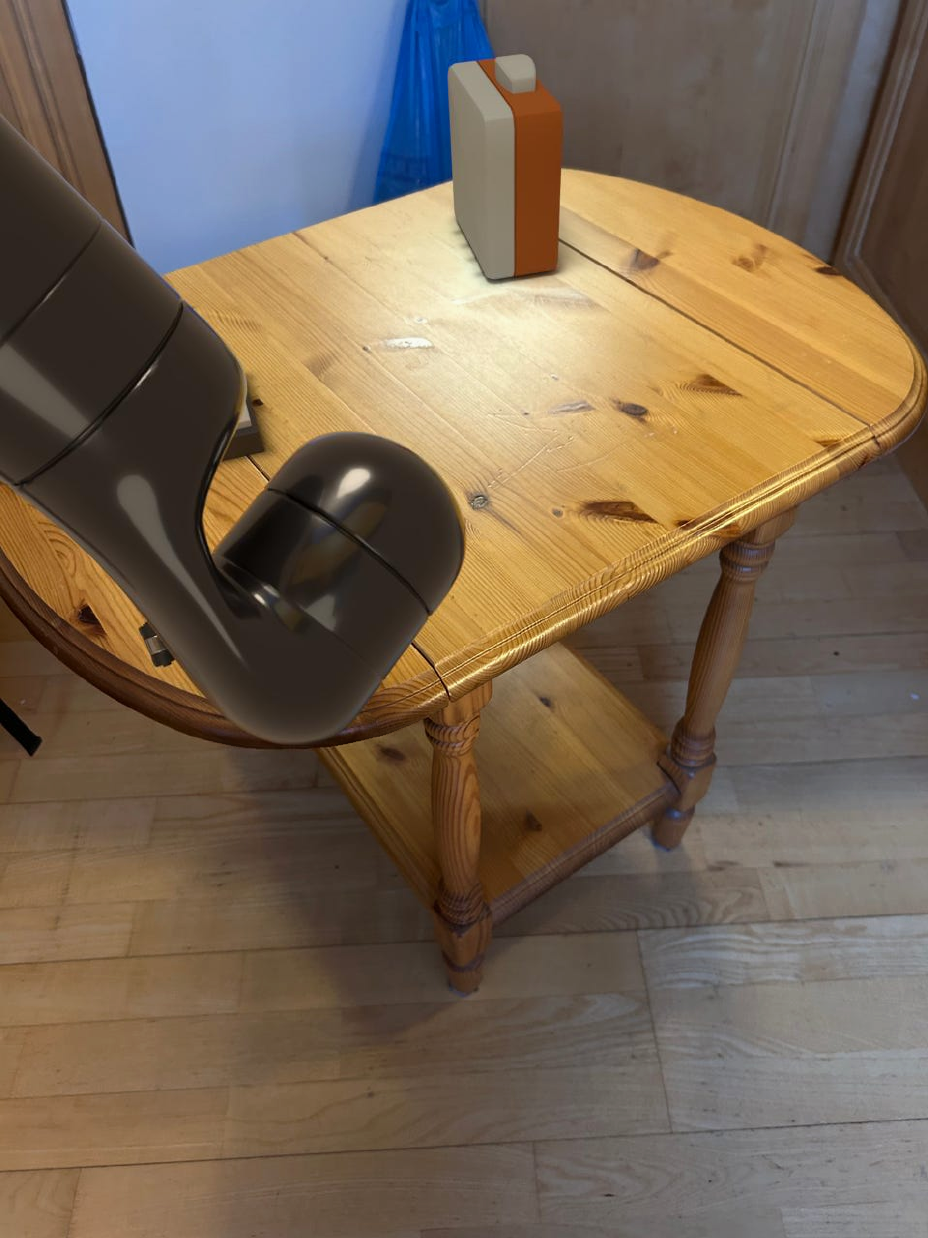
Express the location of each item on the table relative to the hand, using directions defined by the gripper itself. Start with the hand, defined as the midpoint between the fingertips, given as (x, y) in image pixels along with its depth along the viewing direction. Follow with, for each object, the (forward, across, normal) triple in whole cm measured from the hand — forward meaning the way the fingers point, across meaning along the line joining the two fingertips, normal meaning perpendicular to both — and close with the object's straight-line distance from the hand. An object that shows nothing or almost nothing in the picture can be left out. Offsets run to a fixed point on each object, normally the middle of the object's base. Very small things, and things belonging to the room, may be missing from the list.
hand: (251, 605), depth 61 cm
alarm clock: (+44, -49, -30) cm, 72 cm away
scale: (+32, -3, -18) cm, 37 cm away
